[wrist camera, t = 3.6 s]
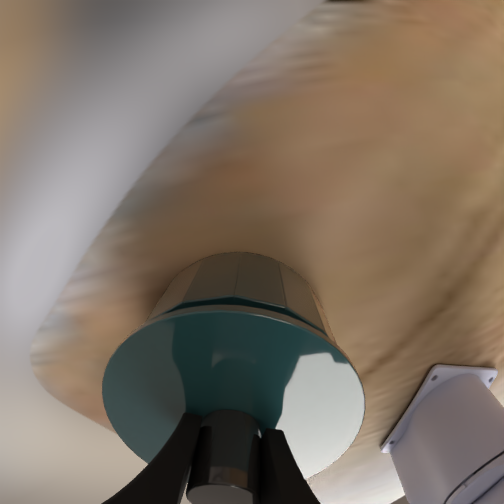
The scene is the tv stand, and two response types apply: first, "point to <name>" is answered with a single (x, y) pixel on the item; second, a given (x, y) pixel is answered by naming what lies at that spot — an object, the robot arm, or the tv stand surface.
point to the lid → (233, 394)
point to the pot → (244, 288)
